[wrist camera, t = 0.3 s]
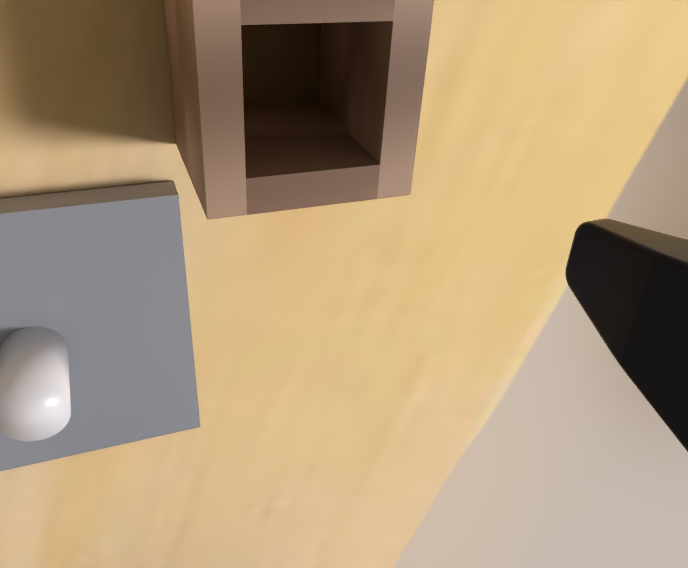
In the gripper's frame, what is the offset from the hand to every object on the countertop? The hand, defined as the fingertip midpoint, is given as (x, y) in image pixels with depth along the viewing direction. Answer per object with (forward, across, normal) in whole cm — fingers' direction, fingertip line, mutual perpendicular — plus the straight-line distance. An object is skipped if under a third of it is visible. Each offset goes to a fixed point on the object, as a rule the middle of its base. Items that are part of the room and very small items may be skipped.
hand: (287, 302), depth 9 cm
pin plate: (+13, +5, +9) cm, 17 cm away
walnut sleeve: (+13, -3, 0) cm, 13 cm away
